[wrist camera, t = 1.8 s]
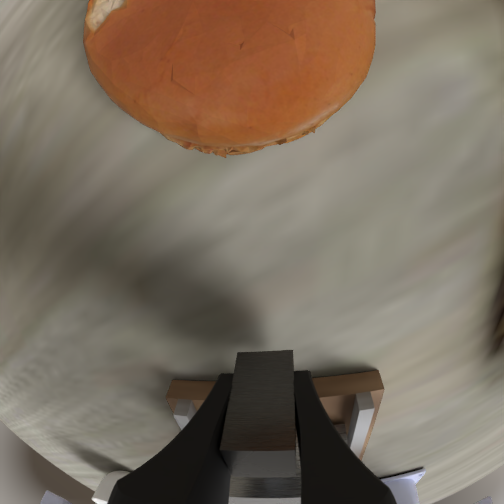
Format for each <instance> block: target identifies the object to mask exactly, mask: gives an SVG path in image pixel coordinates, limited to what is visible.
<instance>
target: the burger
mask: <svg viewBox="0 0 504 504" xmlns="http://www.w3.org/2000/svg"><path fill="white" fill-rule="evenodd" d="M375 13H376V11H375V0H89V3H88V9H87V14H86V18H85V26H84V38H83V43H84V48H85V52H86V56H87V60H88V64H89V67H90V70H91V72H92V74H93V75H94V77H95V78H96V80H97V82H98V83H99V84H100V85H101V87H102V88H103V89H104V91H105V92H106V93H107V95H108V96H109V97H110V99H111V100H112V101H113V102H114V103H116V104H117V105H118V106H119V107H120V108H121V109H122V110H123V111H125V112H126V113H128V114H129V115H130V116H132V117H133V118H135V119H136V120H138V121H139V122H140V123H142V124H143V125H145V126H147V127H149V128H152V129H154V130H156V131H158V132H160V133H161V134H162V135H163V136H164V137H166V138H167V139H168V140H170V141H173V142H176V143H178V144H179V145H180V146H182V147H184V148H185V149H189V150H192V149H194V148H195V149H197V150H199V151H201V152H204V153H208V154H210V153H212V152H213V153H214V154H215V155H220V156H222V157H225V158H226V154H229V155H239V154H246V153H251V152H254V151H258V150H261V149H263V148H264V147H266V146H271V145H276V144H279V145H281V144H283V143H288V142H291V141H294V140H296V139H299V138H301V137H303V136H305V135H307V134H308V133H310V132H313V133H315V129H316V128H317V127H319V126H321V125H322V124H323V123H324V122H325V121H326V120H327V119H329V118H330V117H331V116H332V115H333V114H334V113H336V112H337V111H338V110H339V109H340V108H341V107H342V106H343V105H344V104H345V103H346V102H348V101H349V100H350V99H351V98H352V96H353V95H354V93H355V92H356V91H357V89H358V88H359V86H360V85H361V84H362V82H363V81H364V79H365V78H366V76H367V73H368V71H369V68H370V65H371V62H372V59H373V54H374V49H375V22H374V18H375Z"/></svg>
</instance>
